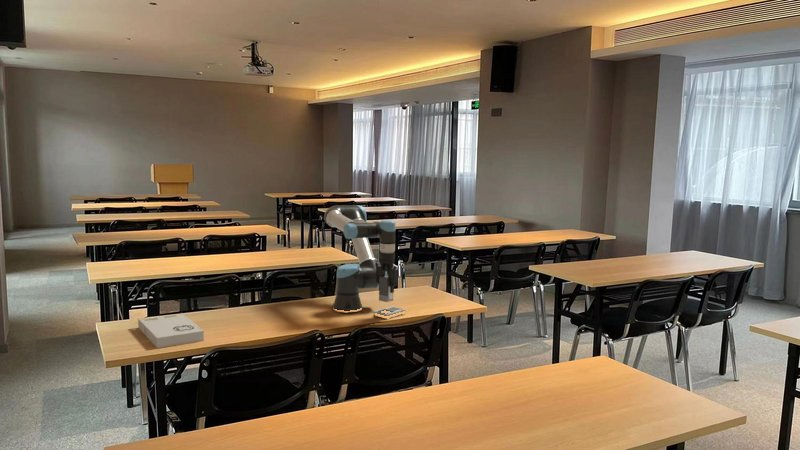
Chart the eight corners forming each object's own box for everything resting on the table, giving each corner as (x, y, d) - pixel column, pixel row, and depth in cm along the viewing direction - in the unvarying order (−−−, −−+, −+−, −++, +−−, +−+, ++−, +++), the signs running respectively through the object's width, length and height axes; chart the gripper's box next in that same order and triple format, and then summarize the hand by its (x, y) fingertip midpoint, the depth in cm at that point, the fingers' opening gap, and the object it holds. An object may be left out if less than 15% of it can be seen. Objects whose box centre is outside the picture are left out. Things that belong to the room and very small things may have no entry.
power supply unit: (181, 323, 272) (181, 312, 271) (204, 342, 246) (204, 330, 245) (138, 329, 261) (137, 318, 260) (157, 350, 235) (157, 338, 234)
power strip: (373, 315, 291) (373, 310, 290) (391, 310, 301) (392, 305, 301) (386, 319, 285) (387, 314, 284) (405, 314, 295) (405, 308, 295)
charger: (378, 300, 289) (379, 276, 288) (385, 298, 293) (386, 275, 292) (386, 302, 286) (387, 278, 285) (393, 300, 290) (393, 276, 288)
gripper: (368, 250, 290) (367, 296, 292) (396, 255, 278) (394, 302, 281) (378, 248, 295) (377, 293, 298) (406, 253, 284) (404, 299, 287)
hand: (386, 297), depth 289 cm, fingers closed on charger, 5 cm apart
